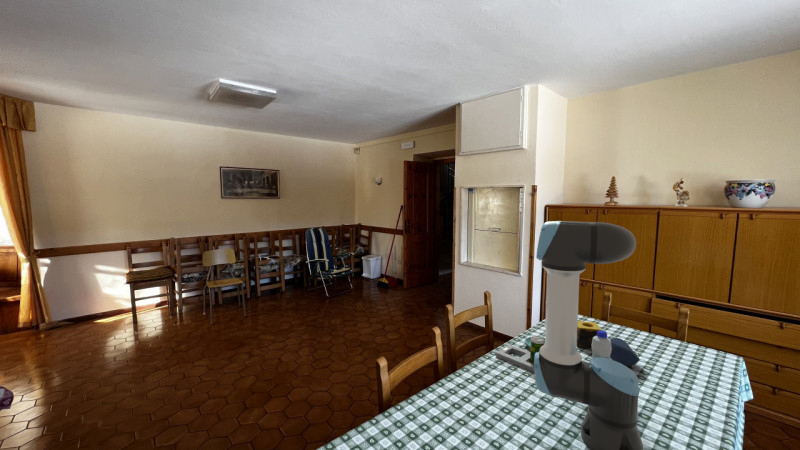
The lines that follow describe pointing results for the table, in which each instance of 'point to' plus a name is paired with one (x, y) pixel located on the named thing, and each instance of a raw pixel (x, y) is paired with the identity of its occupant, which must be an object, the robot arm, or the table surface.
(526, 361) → the socket panel
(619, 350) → the decorative stone
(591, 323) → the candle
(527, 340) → the saucer
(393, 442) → the table surface
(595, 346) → the bottle
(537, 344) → the beer can
